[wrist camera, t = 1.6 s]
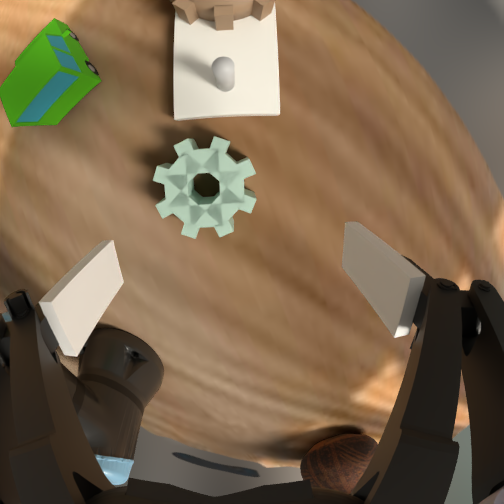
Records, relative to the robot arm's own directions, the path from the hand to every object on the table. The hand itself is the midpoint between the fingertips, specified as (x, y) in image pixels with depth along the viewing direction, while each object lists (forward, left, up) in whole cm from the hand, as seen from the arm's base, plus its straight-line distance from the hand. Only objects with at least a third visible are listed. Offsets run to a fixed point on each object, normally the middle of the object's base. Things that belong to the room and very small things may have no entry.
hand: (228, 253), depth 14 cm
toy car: (-22, +19, -18) cm, 34 cm away
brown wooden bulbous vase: (+23, -65, -18) cm, 72 cm away
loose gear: (-3, +1, -17) cm, 18 cm away
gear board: (0, +20, -17) cm, 27 cm away
